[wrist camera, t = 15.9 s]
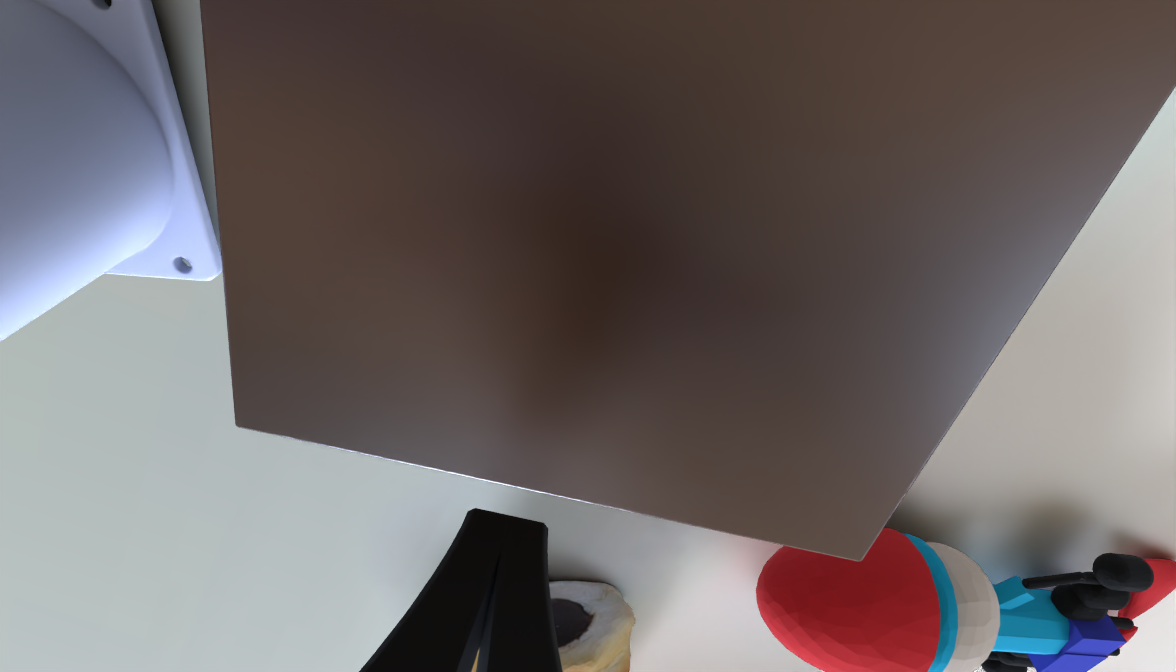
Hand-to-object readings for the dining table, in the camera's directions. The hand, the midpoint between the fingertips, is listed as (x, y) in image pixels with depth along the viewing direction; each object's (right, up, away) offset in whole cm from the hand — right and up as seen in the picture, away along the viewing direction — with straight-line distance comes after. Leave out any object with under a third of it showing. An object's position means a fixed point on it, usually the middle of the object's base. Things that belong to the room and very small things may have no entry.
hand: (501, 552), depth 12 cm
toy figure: (+14, -4, +13) cm, 20 cm away
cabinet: (+3, +11, +4) cm, 12 cm away
